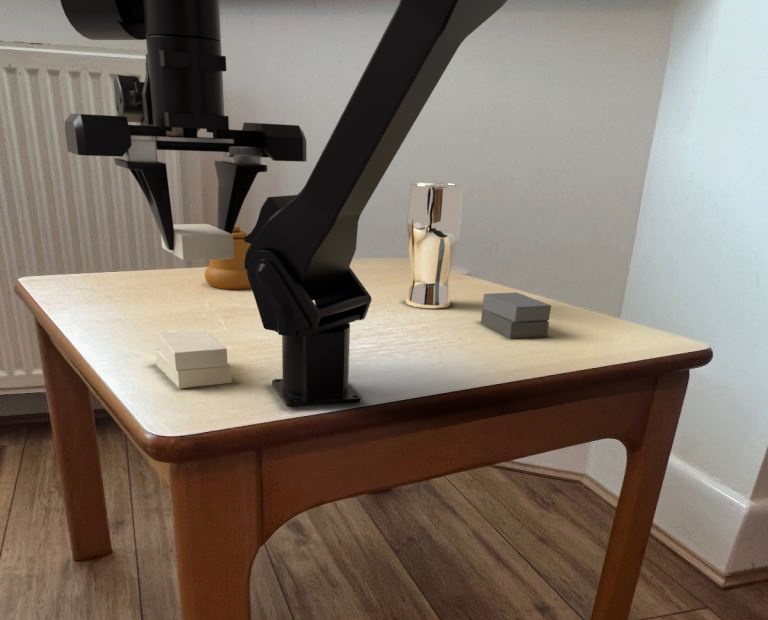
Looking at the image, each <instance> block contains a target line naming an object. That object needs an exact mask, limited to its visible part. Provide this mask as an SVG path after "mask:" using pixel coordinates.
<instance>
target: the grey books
mask: <svg viewBox="0 0 768 620" xmlns="http://www.w3.org/2000/svg"><path fill="white" fill-rule="evenodd" d="M482 298H483V299H482V310H481V316H480V317H481V319H480V324H482V325H483V326H486V327H488V328H489V329H492V330H493V331H495V332H497V333H499V334H500V335H503V336H504V337H506V338H508V339H527V338H528V339H529V338H547V337H548V332H549V324H550V316H551V309H552V305H551V304H549V303H546V302H544V301H540V300H538V299H535V298H532V297H530V296H527V295H525V294H522V293H519V292H497V293H496V292H495V293H484V294H483V297H482Z"/></svg>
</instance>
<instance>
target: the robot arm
mask: <svg viewBox="0 0 768 620" xmlns="http://www.w3.org/2000/svg"><path fill="white" fill-rule="evenodd" d="M59 1H60V5H61V8H62V10H63V13H64V15H65V17H66V19H67V20H68V22H69V24H70V25H71V27H73V29H74V30H75V31H76V32H77V33H78V34H80V35H81V36H82V37H83V38H86V39H88V40H92V41H145V42H146V43H145V44H146V53H145V72H146V73H145V78H144V81H140V78H139V77H138V76H135V75H123V74H116V75H115V76H114V79H113V89H114V90H113V91H114V102H115V103H114V104H115V108H116V115H109V114H107V115H106V114H91V113H90V114H87V113H70V114H69V116H67V118H66V119H65V120H64V131H65V141H66V147H67V152H68V153H72V154H74V155H77V156H89V157H114V159H113V160H114V164H115V166H118V167H121V168H123V169H127V170H129V171H130V173H131V174H132V176H133V177H134V179H135V181H136V182H137V184H138V186H139V188H140V190H141V191H142V193H143V195H144V197H145V199H146V201H147V203H148V205H149V208H150V211H151V213H152V215H153V216H152V217H153V219H154V221H155V223H156V225H157V228H158V230H159V233H160V236H161V235H162V238H163V240H164V243H165V245H166V248H167V249H168V250H174V227H173V224H174V220H173V212H172V203H171V195H170V187H169V186H170V185H169V179H168V171H167V163H166V162H161V161H159V158H158V151H184V152H185V151H186V152H213V153H214V152H215V153H216V152H217V153H221V160H214V166H215V172H216V176H217V183H218V185H217V187H218V188H217V228H218V229H221V230H223V231H226V232H228V233H230V234H232V233H233V230H234V227H235V225H237V221H238V218H239V216H240V213H241V210H242V207H243V204H244V202H245V200H246V198H247V196H248V194H249V192H250V191H251V188H252V186H253V184H254V182H255V179H256V178H257V176H258V174H259V173H267V172H268V164H262V158H268V159H269V158H270V159H271V161H273V162H303V163H305V162H307V138H306V136H305V132H304V130H303V129H302V128H301V126H300V124H299V125H298V124H283V123H282V124H281V123H265V122H263V123H261V122H243V124H242V127H241V129H231V128H230V122H229V121H230V120H229V119H230V118H229V115H225V99H224V98H225V97H224V80H223V79H224V78H223V77H224V76H223V72H227V56H226V55H222V37H221V36H222V35H221V16H220V0H59ZM507 2H508V0H399V3H398V5H397V7H396V9H395V11H394V13H393V14H392V16H391V19H390V20H389V23H388V24H387V27H386V28H385V29H384V32H383V34H382V36H381V38H380V40H379V42H378V44H377V46H376V47H375V50H374V52H373V53H372V55H371V56H370V57H371V58H370V59H369V61H368V63H367V65H366V67H365V69H364V71H363V73H362V75H361V76H360V79H359V80H358V83H357V84H356V86H355V89H354V90H353V92H352V94H351V96H350V97H349V99H348V102H347V103H346V106H345V108H344V110H343V111H342V114H341V115H340V117H339V119H338V120H337V123H336V125H335V127H334V129H333V131H332V133H331V134H330V137H329V139H328V141H326V144H325V146H324V148H323V149H322V152H321V154H320V156H319V158H318V160H317V161H316V163H315V165H314V168H313V169H312V171H311V173H310V175H309V177H308V180H307V181H306V183H305V185H304V187H303V188H302V189H301V190H300V191H299V192H298V193H297V194H291V195H289V194H288V195H279V196H277V195H276V196H267V197H266V199H265V200H264V202H263V204H262V205H261V208H260V211H259V213H258V217H257V221H256V223H255V226H254V227H253V229H252V230H251V231H250V232H249V234H247V236H246V237H245V238H244V241H245V242H246V243H251V244H250V246H249V247H248V249H247V252H246V255H245V259H244V269H245V270H246V271H247V275H248V280H249V283H250V285H251V291H252V294H253V297H254V300H255V304H256V307H257V311H258V314H259V316H260V321H261V324H262V327H263V328H264V330H268V331H272V332H275V333H277V335H279V336H281V357H282V358H281V359H282V361H281V362H282V363H281V366H282V367H281V368H282V370H281V371H282V378H275V379H272V380H271V386H272V388H273V389H274V390H275V392H276V393H277V395H278V396H279V397H280V399H281V400H282V402H283V403H284V405H285V406H286V407H288V408H293V409H294V408H306V407H319V406H320V407H321V406H334V405H347V404H359V403H361V402H362V396H361V395H360V394H359V393H358V392H357V391H356V390H355V389H354V388H353V387H352V386H351V384H349V377H350V376H349V373H350V372H349V371H350V345H351V343H350V339H351V338H350V337H351V323H354V322H357V321H362V320H365V319H366V317H367V314H368V311H369V308H370V305H371V304H372V300H373V299H372V296H371V295H370V292H369V291H368V290H367V289H366V288H365V286H364V285H363V283H362V282H361V280H360V279H359V277H358V276H357V275H356V274H355V272H354V271H353V269H352V268H351V267H350V266H351V265H352V261H353V259H354V256H355V254H356V250H357V242H358V229H359V221H360V218H361V215H362V213H363V212H364V209H365V208H366V206H367V205H368V203H369V201H370V200H371V198H372V196H373V194H374V192H375V191H376V190H377V188H378V186H379V184H380V182H381V181H382V179H383V177H384V175H385V174H386V172H387V170H388V169H389V167H390V165H391V163H392V162H393V160H394V158H395V157H396V155H397V153H398V152H399V150H400V148H401V146H402V144H403V143H404V142H405V140H406V138H407V136H408V134H409V133H410V132H411V129H412V127H414V126H413V125H414V124H415V122H416V121H417V119H418V118H419V115H420V114H421V112H422V110H423V109H424V107H425V105H426V103H428V101H429V99H430V97H431V95H432V93H433V92H434V90H435V88H436V87H437V86H438V83H439V82H440V79H441V78H442V76H443V75H444V73H445V71H446V70H447V68H448V65H449V64H450V63H451V61H452V59H453V58H454V56H455V54H456V53H457V50H458V48H459V47H460V46H461V44H462V43H463V42H464V41H465V40H466V39H467V37H469V36H470V35H471V34H473V33H474V32H475V31H476V30H477V29H478V28H479V27H480V26H481V25H483V24H484V23H485V22H486V21H488V20H489V19H490V18H491V17H492V16H493V15H494V14H495V13H496V12H497V11H499V10H500V9H501V8H503V6H504V5H505V4H506V3H507ZM129 123H137V124H129ZM201 130H206V133H211V134H212V137H208V136H198V133H199V132H200V131H201Z"/></svg>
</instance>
